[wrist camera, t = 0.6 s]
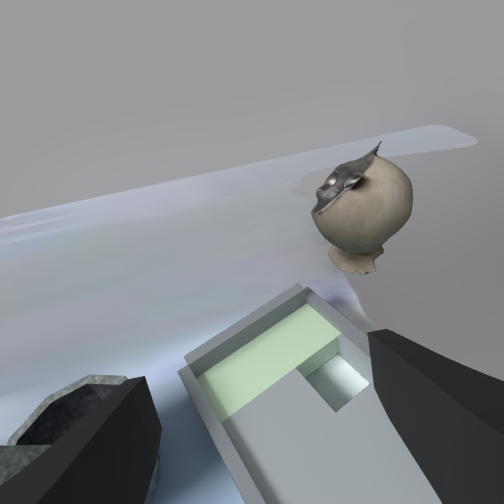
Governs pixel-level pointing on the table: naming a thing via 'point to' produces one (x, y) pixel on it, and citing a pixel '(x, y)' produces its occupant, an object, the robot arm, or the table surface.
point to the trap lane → (299, 411)
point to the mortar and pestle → (58, 424)
